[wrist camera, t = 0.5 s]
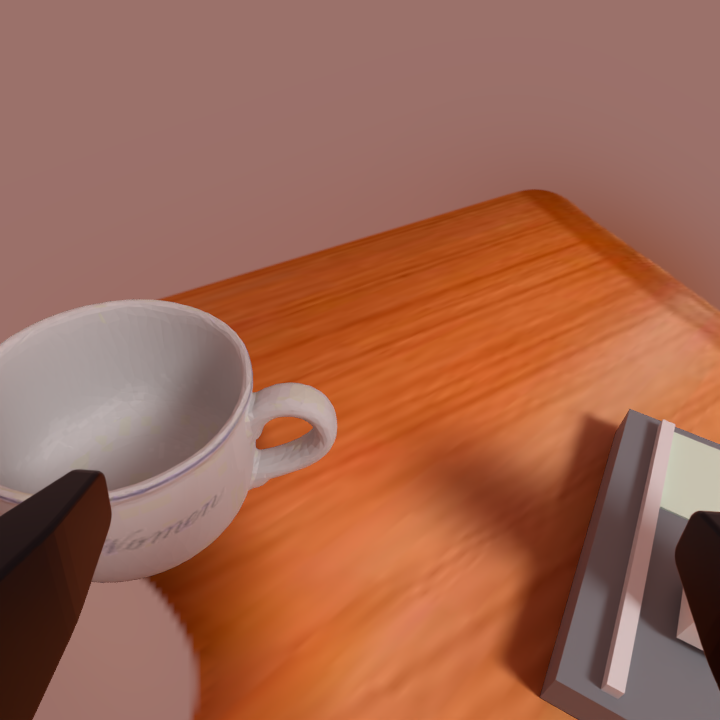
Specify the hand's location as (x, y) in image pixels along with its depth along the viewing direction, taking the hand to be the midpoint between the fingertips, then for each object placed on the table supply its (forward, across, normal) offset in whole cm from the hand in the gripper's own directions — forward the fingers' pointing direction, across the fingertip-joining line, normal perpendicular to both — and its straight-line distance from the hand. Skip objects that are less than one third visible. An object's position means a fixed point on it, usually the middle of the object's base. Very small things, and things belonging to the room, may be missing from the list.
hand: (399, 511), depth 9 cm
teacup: (+14, +8, +14) cm, 21 cm away
